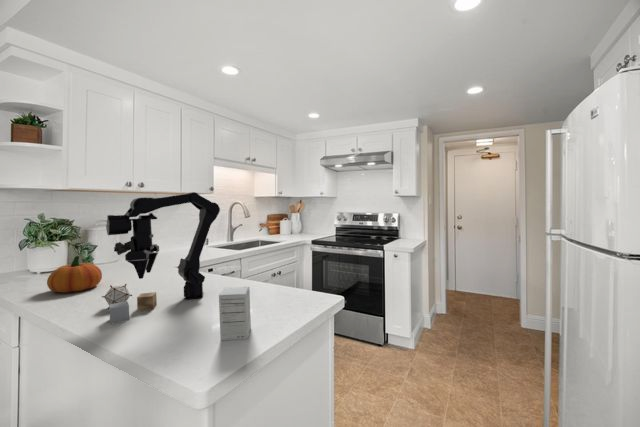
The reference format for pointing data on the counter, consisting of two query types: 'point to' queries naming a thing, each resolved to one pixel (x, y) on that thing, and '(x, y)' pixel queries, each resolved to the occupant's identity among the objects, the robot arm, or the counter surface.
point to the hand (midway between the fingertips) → (145, 275)
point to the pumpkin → (74, 277)
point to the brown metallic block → (146, 301)
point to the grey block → (119, 312)
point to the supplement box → (234, 313)
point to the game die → (117, 295)
